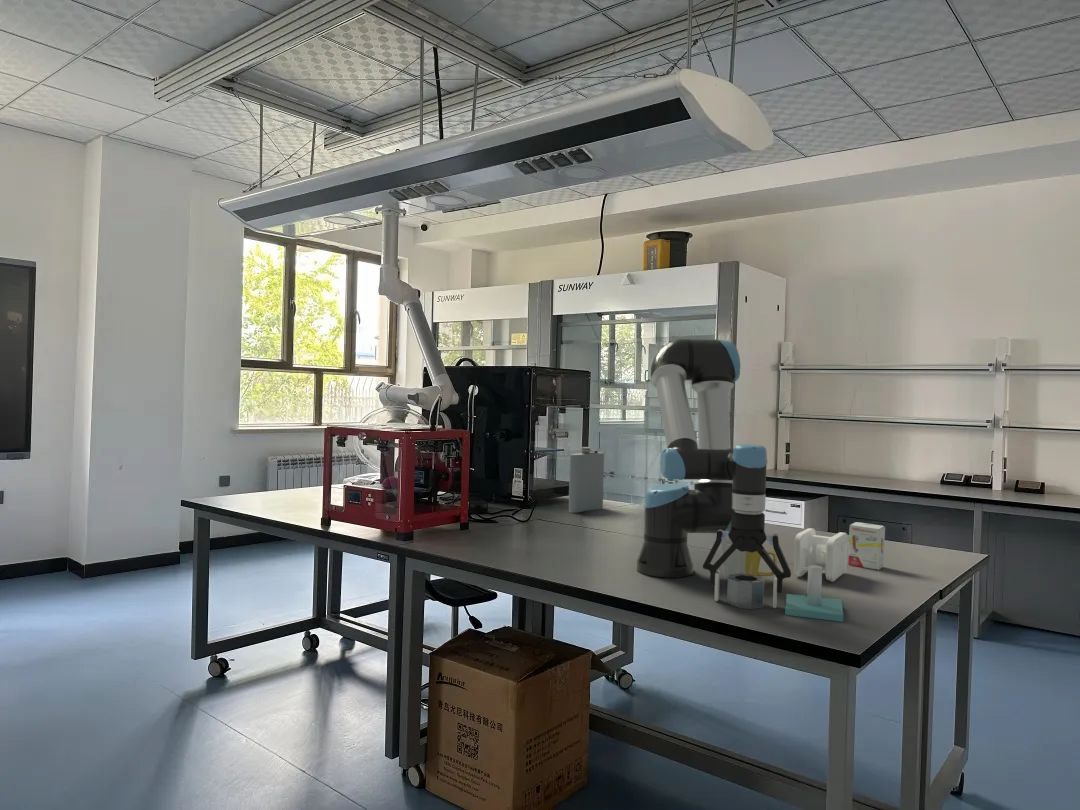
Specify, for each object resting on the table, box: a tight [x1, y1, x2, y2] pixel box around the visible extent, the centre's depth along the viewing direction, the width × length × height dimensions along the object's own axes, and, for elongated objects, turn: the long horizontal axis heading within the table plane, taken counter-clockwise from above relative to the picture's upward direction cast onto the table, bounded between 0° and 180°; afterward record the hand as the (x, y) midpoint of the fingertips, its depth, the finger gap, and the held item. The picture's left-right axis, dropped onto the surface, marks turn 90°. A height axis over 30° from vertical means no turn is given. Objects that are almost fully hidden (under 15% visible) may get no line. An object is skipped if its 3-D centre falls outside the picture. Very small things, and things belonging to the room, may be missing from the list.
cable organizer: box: [793, 527, 849, 583], centre depth 200 cm, size 15×11×12 cm
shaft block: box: [784, 565, 844, 623], centre depth 169 cm, size 12×12×10 cm
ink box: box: [847, 521, 886, 570], centre depth 212 cm, size 9×5×12 cm, turn 49°
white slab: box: [568, 446, 605, 514], centre depth 295 cm, size 17×5×25 cm, turn 132°
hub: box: [726, 573, 765, 610], centre depth 173 cm, size 8×8×6 cm
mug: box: [721, 537, 778, 579], centre depth 191 cm, size 14×10×10 cm
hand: (745, 603), depth 173 cm, fingers open, 12 cm apart
